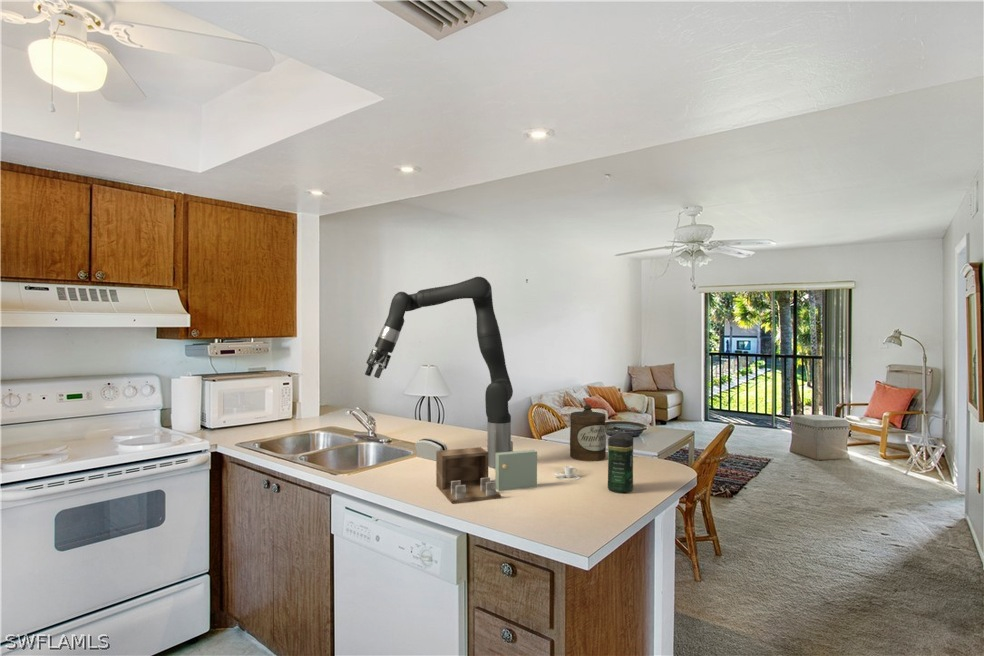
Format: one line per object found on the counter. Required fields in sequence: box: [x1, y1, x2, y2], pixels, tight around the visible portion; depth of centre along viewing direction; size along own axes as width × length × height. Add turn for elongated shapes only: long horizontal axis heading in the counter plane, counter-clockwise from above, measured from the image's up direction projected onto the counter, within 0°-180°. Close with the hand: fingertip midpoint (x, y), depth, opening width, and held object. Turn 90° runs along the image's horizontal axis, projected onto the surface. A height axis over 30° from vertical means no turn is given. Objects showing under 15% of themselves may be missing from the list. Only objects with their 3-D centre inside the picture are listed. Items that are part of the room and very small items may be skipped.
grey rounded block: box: [414, 437, 448, 462], centre depth 215 cm, size 17×5×10 cm, turn 50°
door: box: [494, 449, 538, 492], centre depth 176 cm, size 14×4×12 cm, turn 110°
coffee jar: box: [607, 432, 634, 494], centre depth 175 cm, size 10×8×19 cm
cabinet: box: [435, 446, 502, 504], centre depth 172 cm, size 16×20×12 cm
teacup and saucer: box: [554, 465, 581, 481], centre depth 189 cm, size 9×8×4 cm
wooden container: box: [569, 404, 607, 462], centre depth 220 cm, size 15×15×22 cm
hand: (371, 376), depth 209 cm, fingers open, 8 cm apart
